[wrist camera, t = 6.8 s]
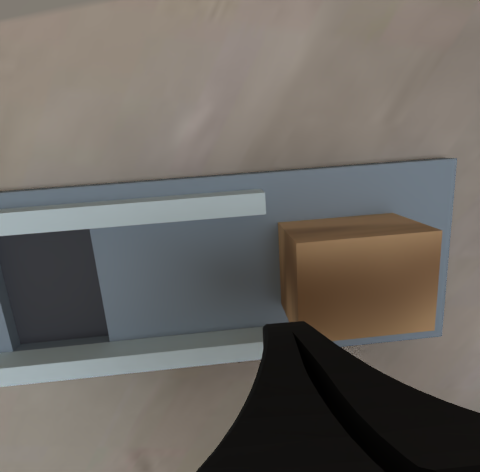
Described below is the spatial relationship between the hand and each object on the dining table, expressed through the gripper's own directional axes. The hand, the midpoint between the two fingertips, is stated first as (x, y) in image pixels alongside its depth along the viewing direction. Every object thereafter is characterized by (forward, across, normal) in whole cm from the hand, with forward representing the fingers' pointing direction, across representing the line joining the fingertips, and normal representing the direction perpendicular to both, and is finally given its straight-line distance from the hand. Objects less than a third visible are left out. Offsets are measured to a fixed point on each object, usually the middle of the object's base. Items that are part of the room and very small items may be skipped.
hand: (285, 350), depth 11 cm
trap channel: (+8, +2, 0) cm, 9 cm away
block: (+7, -4, 0) cm, 9 cm away
